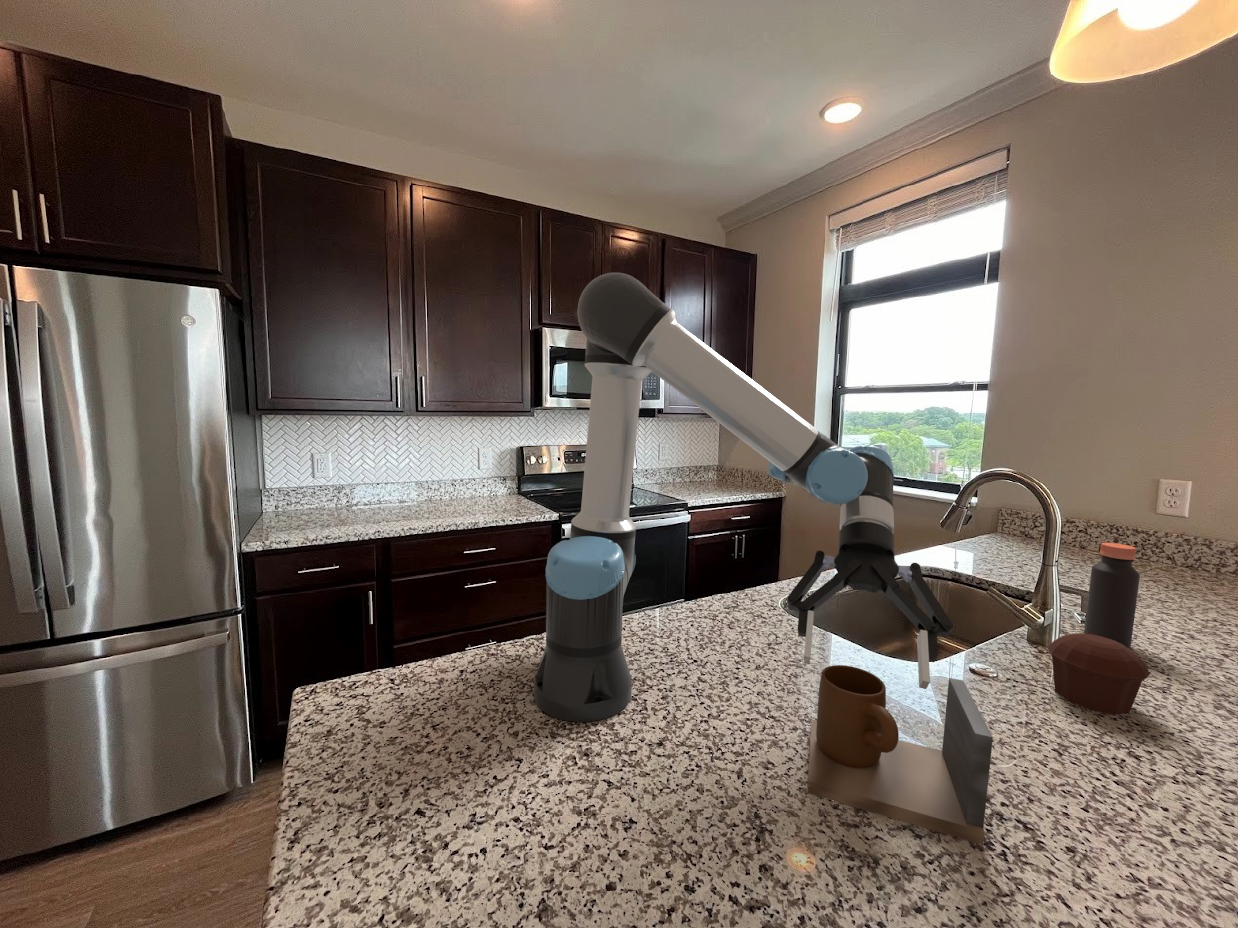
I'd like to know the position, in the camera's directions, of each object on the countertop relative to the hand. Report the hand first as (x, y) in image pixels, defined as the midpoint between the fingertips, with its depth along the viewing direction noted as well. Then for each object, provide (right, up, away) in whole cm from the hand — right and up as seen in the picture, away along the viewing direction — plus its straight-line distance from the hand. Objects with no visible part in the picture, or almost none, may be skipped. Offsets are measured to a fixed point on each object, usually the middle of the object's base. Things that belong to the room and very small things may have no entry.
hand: (863, 672), depth 64 cm
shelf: (+1, -11, -3) cm, 12 cm away
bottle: (+67, -9, +36) cm, 77 cm away
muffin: (+44, -11, +15) cm, 48 cm away
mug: (-2, -10, -3) cm, 11 cm away
